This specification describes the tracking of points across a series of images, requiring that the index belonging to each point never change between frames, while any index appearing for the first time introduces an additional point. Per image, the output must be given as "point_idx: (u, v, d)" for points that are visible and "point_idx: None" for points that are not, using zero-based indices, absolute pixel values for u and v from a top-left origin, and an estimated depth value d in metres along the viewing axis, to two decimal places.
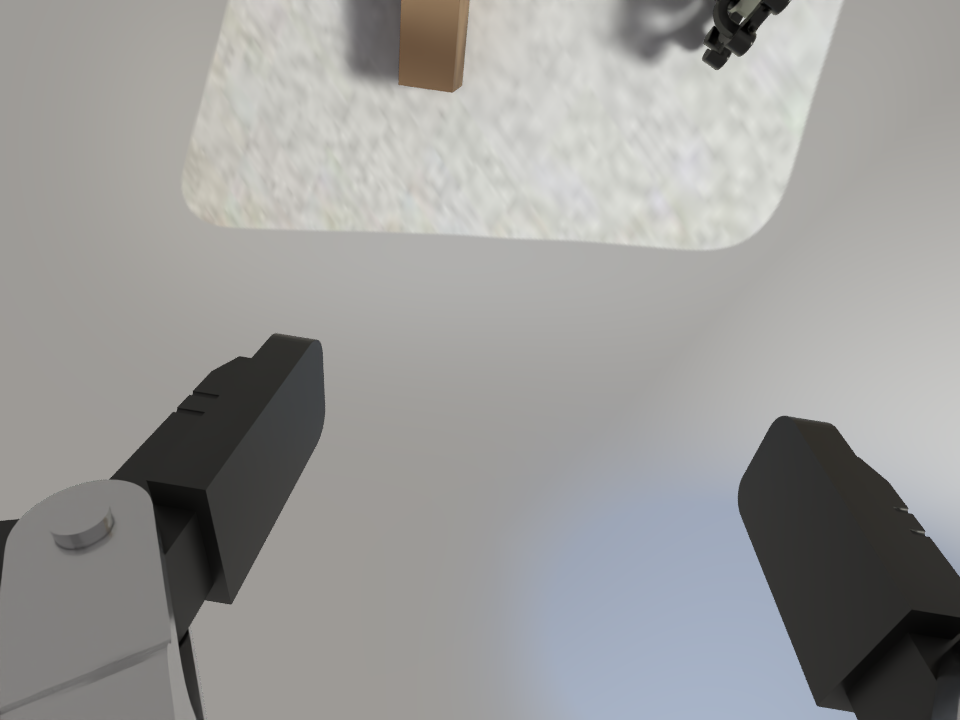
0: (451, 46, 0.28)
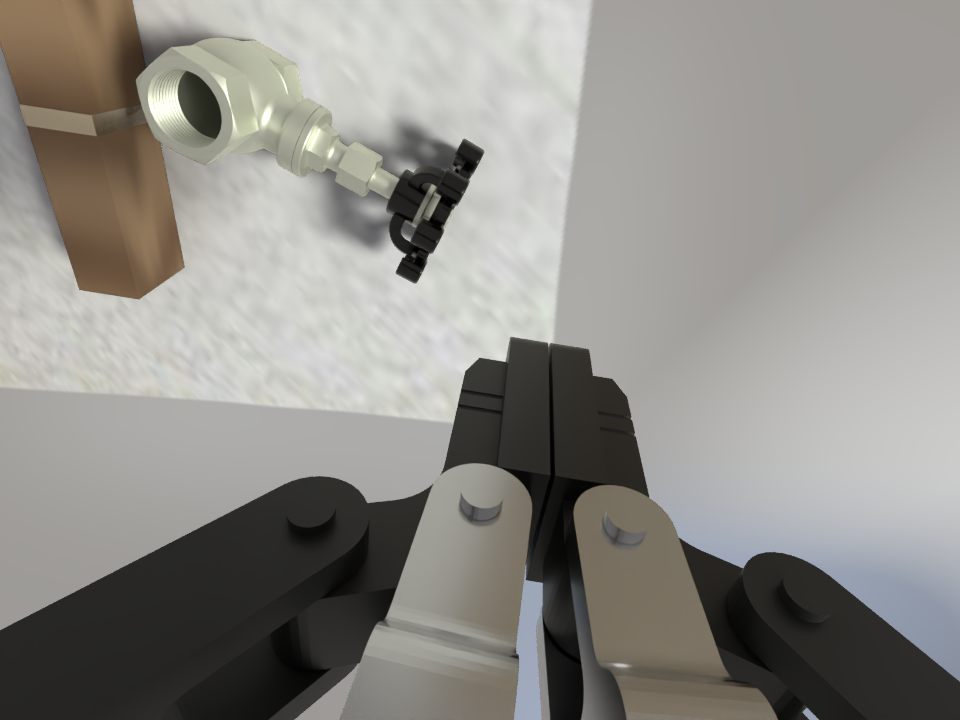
0: (122, 257, 0.25)
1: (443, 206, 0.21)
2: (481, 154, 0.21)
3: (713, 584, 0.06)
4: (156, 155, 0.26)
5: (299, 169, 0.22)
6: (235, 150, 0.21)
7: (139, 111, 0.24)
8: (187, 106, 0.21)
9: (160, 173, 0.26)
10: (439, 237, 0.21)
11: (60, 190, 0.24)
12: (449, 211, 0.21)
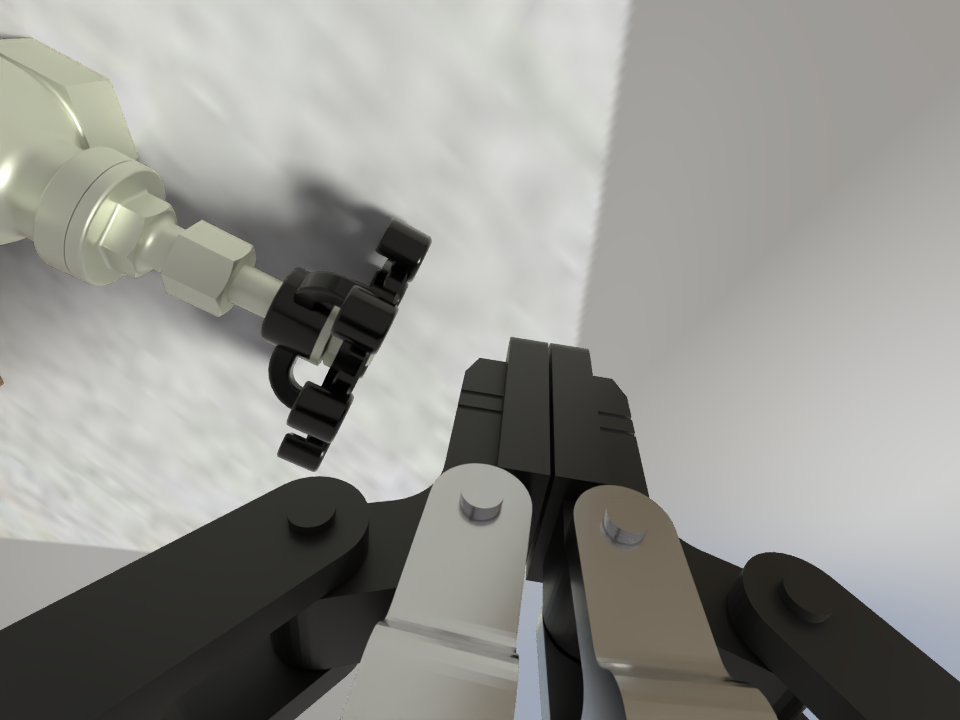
0: None
1: (351, 352, 0.11)
2: (424, 249, 0.11)
3: (713, 584, 0.06)
4: None
5: (88, 278, 0.12)
6: None
7: None
8: None
9: None
10: (339, 420, 0.11)
11: None
12: (364, 360, 0.11)
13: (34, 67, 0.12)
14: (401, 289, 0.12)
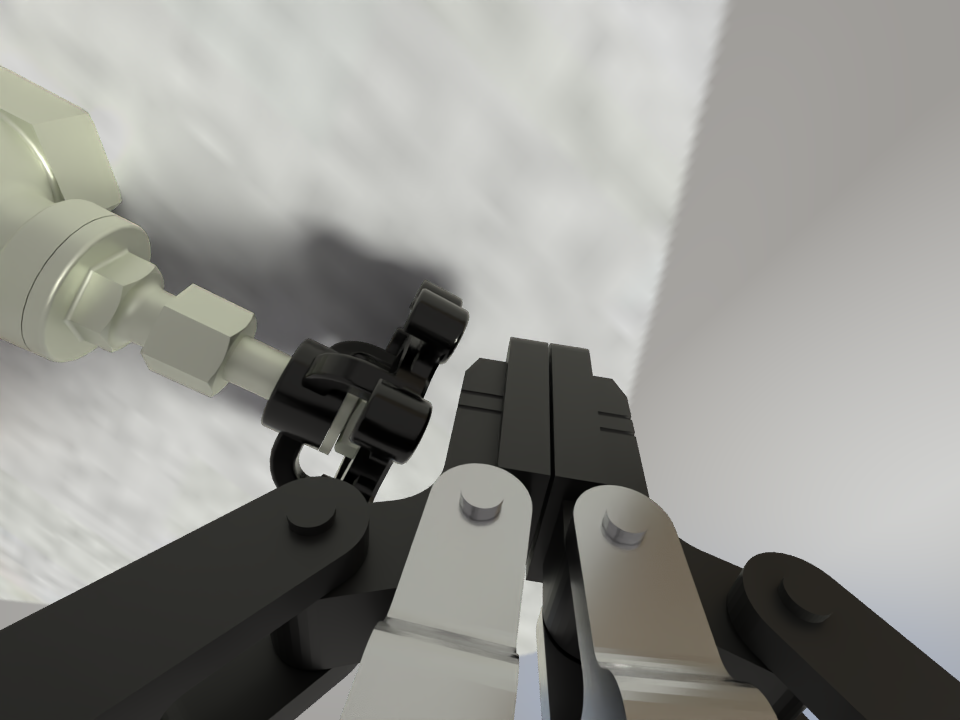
0: None
1: (372, 456, 0.09)
2: (462, 327, 0.09)
3: (713, 584, 0.06)
4: None
5: (53, 357, 0.10)
6: None
7: None
8: None
9: None
10: None
11: None
12: (387, 464, 0.09)
13: None
14: (432, 373, 0.10)
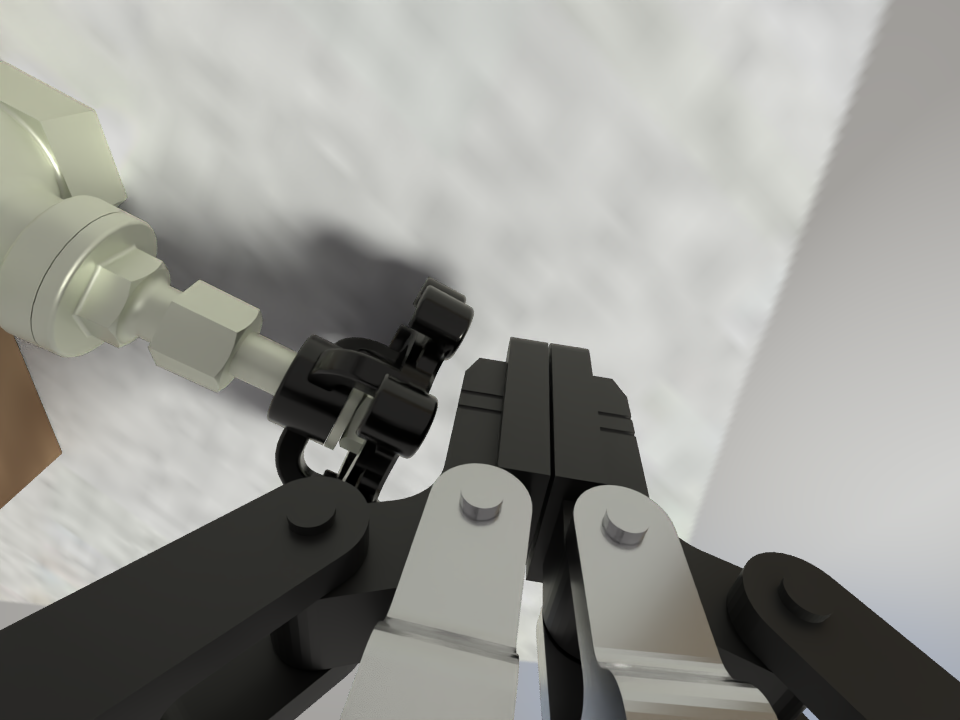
0: None
1: (378, 450, 0.09)
2: (467, 324, 0.10)
3: (713, 584, 0.06)
4: None
5: (61, 352, 0.10)
6: None
7: None
8: None
9: None
10: None
11: None
12: (393, 459, 0.09)
13: (3, 98, 0.10)
14: (437, 369, 0.10)
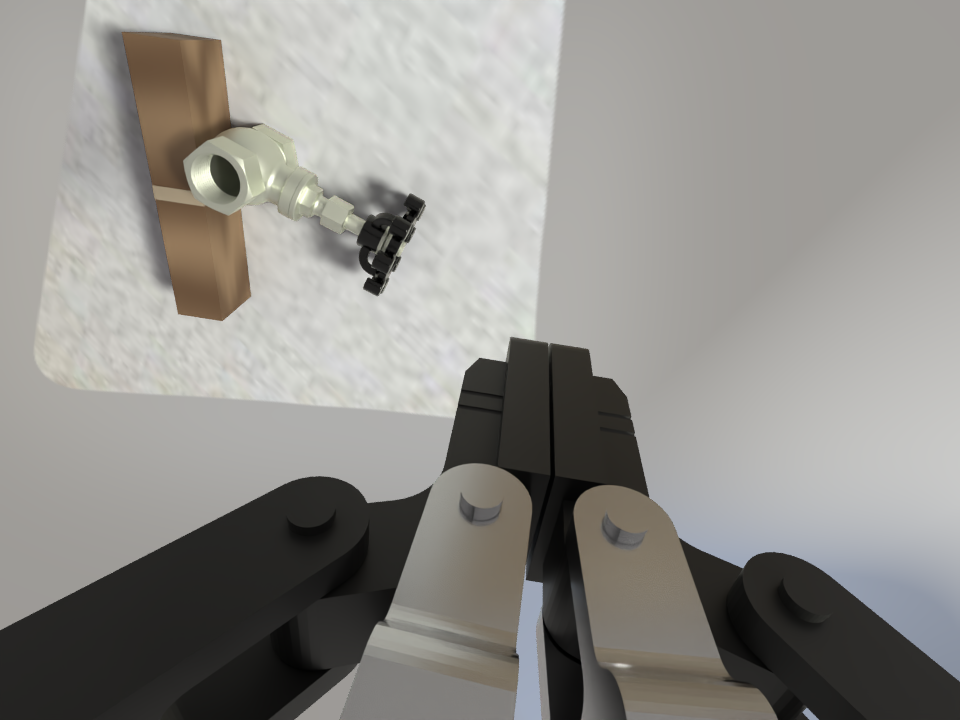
0: (213, 290, 0.34)
1: (394, 241, 0.30)
2: (422, 204, 0.30)
3: (713, 584, 0.06)
4: (237, 215, 0.35)
5: (294, 216, 0.31)
6: (249, 203, 0.30)
7: None
8: (216, 174, 0.30)
9: (239, 227, 0.35)
10: (391, 263, 0.29)
11: (173, 243, 0.33)
12: (399, 244, 0.30)
13: (271, 136, 0.31)
14: (413, 220, 0.31)
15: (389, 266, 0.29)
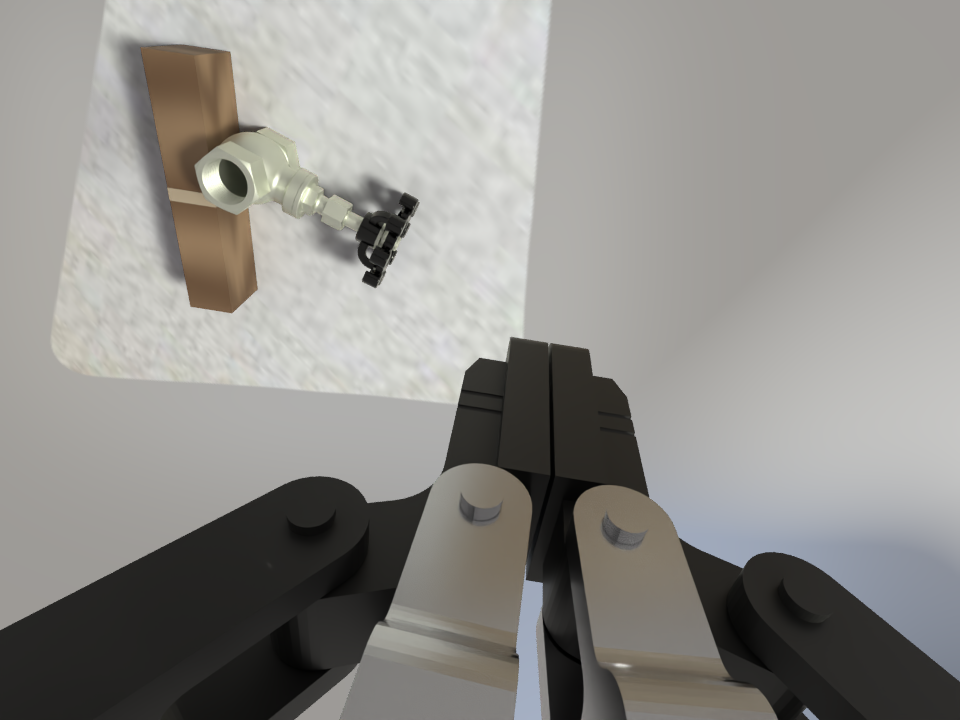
0: (224, 285, 0.37)
1: (390, 237, 0.32)
2: (415, 202, 0.33)
3: (712, 584, 0.06)
4: (245, 213, 0.37)
5: (297, 214, 0.33)
6: (255, 203, 0.33)
7: None
8: (224, 176, 0.32)
9: (246, 225, 0.38)
10: (387, 258, 0.32)
11: (186, 240, 0.35)
12: (394, 240, 0.32)
13: (274, 139, 0.34)
14: (407, 217, 0.33)
15: (386, 260, 0.32)
